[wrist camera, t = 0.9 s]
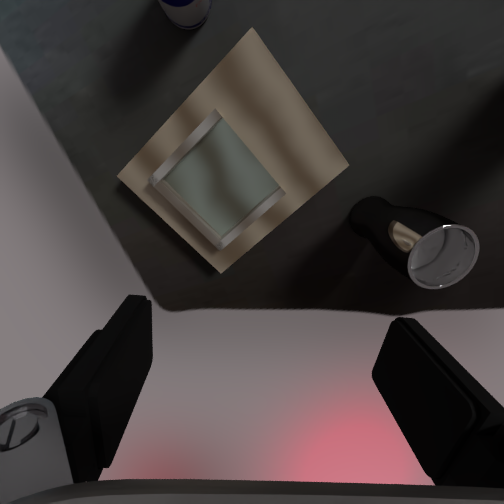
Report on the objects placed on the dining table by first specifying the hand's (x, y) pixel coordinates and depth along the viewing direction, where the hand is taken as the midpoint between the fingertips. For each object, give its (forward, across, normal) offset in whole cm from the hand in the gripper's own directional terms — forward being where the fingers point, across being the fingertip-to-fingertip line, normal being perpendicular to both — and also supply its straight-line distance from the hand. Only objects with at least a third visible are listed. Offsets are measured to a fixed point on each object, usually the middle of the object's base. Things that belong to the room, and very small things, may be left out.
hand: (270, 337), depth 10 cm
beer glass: (+28, -18, +1) cm, 34 cm away
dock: (+28, +2, -4) cm, 29 cm away
